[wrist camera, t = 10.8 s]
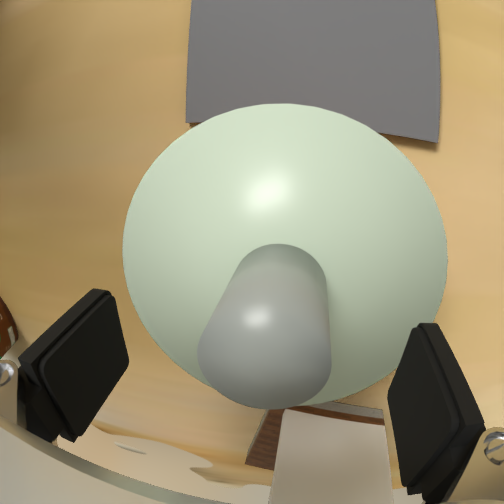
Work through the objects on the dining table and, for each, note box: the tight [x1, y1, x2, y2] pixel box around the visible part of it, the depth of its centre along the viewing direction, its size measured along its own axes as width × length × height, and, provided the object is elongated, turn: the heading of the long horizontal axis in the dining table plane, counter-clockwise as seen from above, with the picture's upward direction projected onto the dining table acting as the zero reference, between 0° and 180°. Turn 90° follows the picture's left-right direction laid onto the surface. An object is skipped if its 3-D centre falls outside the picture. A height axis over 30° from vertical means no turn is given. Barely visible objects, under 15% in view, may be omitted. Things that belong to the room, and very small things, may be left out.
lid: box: [122, 104, 448, 409], centre depth 12 cm, size 15×15×6 cm
